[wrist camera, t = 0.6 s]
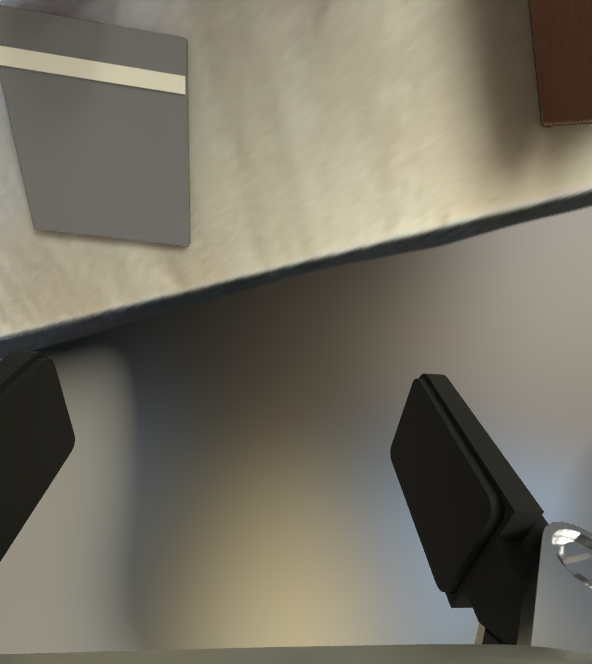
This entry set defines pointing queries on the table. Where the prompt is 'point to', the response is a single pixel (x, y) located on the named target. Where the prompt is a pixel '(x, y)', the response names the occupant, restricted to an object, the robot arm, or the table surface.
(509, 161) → the table surface
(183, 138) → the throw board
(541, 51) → the letter holder
